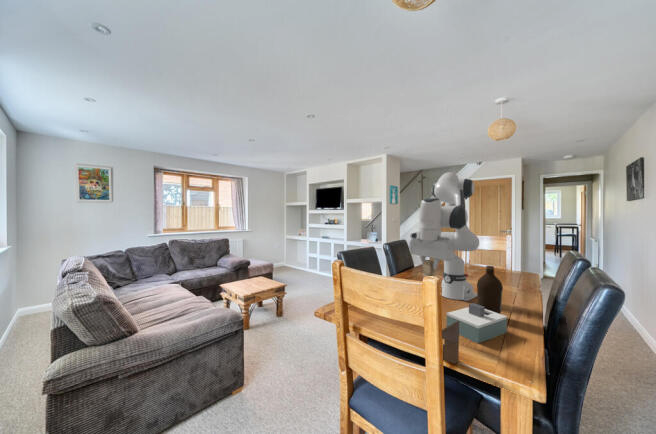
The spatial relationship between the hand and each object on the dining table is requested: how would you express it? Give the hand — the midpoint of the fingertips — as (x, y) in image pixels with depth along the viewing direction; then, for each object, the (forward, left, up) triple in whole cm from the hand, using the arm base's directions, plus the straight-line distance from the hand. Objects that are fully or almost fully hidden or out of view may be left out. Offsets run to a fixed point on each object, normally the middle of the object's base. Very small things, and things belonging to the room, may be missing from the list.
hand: (429, 267), depth 109 cm
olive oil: (-38, +4, -27) cm, 47 cm away
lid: (-18, +10, -21) cm, 30 cm away
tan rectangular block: (0, 0, -9) cm, 9 cm away
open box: (-18, +10, -27) cm, 34 cm away
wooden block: (+12, +16, -27) cm, 34 cm away
